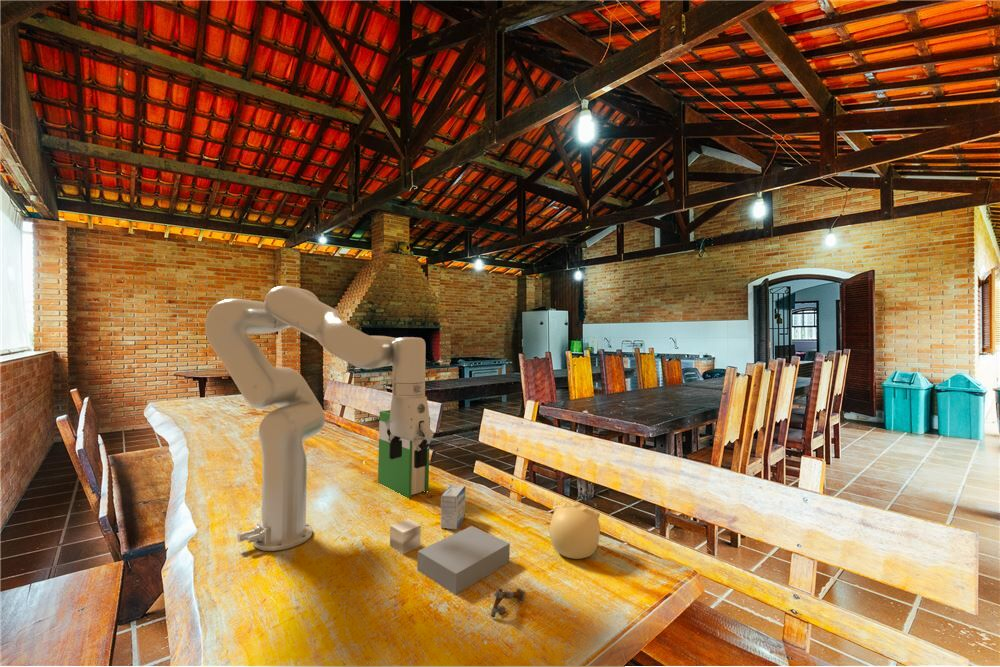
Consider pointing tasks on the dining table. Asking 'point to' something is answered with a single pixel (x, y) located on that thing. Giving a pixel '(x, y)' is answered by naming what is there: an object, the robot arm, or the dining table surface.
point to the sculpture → (574, 530)
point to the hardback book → (400, 464)
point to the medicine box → (453, 507)
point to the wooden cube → (405, 536)
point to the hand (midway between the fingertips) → (407, 462)
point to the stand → (463, 558)
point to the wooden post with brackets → (508, 595)
